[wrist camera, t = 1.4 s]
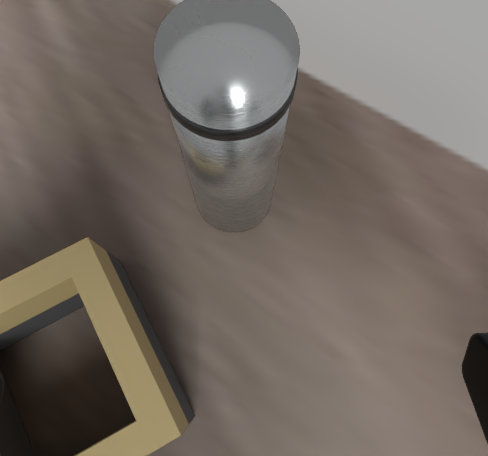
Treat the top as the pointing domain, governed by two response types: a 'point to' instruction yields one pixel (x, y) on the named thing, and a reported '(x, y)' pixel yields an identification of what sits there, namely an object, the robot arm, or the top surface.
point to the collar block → (113, 341)
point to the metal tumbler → (229, 101)
